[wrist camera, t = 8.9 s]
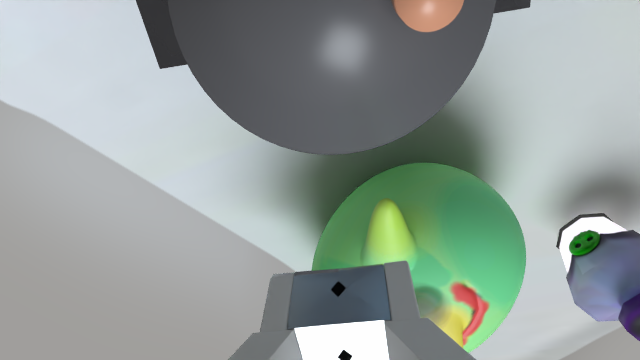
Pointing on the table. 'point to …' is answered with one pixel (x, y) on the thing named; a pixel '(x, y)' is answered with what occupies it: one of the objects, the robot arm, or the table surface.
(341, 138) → the lid
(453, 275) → the toy bird
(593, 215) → the potion bottle
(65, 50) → the table surface
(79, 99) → the table surface
